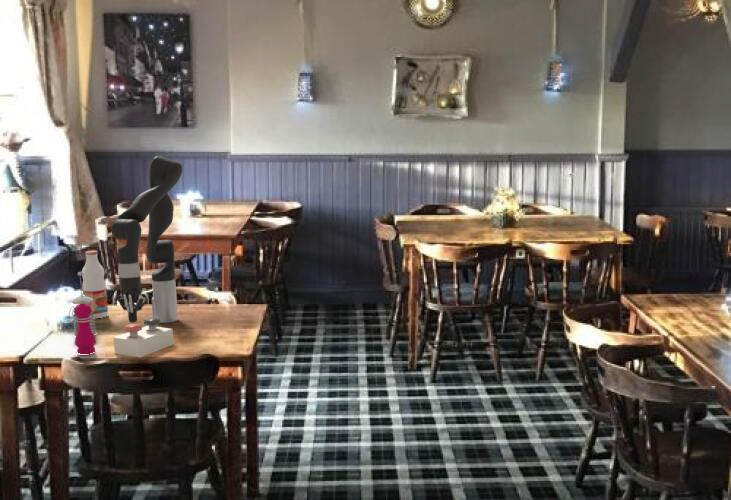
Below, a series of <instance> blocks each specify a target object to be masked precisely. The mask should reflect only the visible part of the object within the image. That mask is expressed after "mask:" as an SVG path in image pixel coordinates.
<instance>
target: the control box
mask: <svg viewBox="0 0 731 500" xmlns="http://www.w3.org/2000/svg"><path fill="white" fill-rule="evenodd" d="M156 327H157V331H154V332H152V331H149V325H144V326H142V330H140V331H138V337H137V338H130V332H126V333H122V334H119V335H117V336H115V337H113V345H114V346H113V348H114V354H116V355H122V356H128V357H135V358H142V357H144V356H148V355H150V354H152V353H153V354H154V353H155V352H158V351H160V350H163V349H165V348H168V347H170V346H173V345H174V330H173V328H168V327H160V326H156Z"/></svg>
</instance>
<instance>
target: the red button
mask: <svg viewBox="0 0 731 500" xmlns="http://www.w3.org/2000/svg"><path fill="white" fill-rule="evenodd" d="M142 328H143V326H142V324H141V323H132V324H131V323H129V324H126V325H124V332H126V333H128V332H130V338H137V337H138V331H140V330H142Z"/></svg>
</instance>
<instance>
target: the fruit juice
mask: <svg viewBox="0 0 731 500" xmlns="http://www.w3.org/2000/svg"><path fill="white" fill-rule="evenodd" d="M98 253H99V252H98V250H87V251H85V257H86V258H85V264H84V266H83V268H82V270H81V272H82V274H83V275H81V276H82V279H83V281H82V295H83V294H84V295H85V296H86V297H90V298H92V299H93V301H92V302H89V303H84V304H88V305H89V306H90V307H91V309H92V310H93V311H92V313H94V318H101V319H104V318H103V317H105V318H107V317H108V316H109V307H108V296H107V295H108V294H107V286H106V285H107V284H106V280H105V278H104V277H105V268H104V267H103V266H102V265H101V263H100V262H99V258H98ZM106 316H107V317H106Z"/></svg>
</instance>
